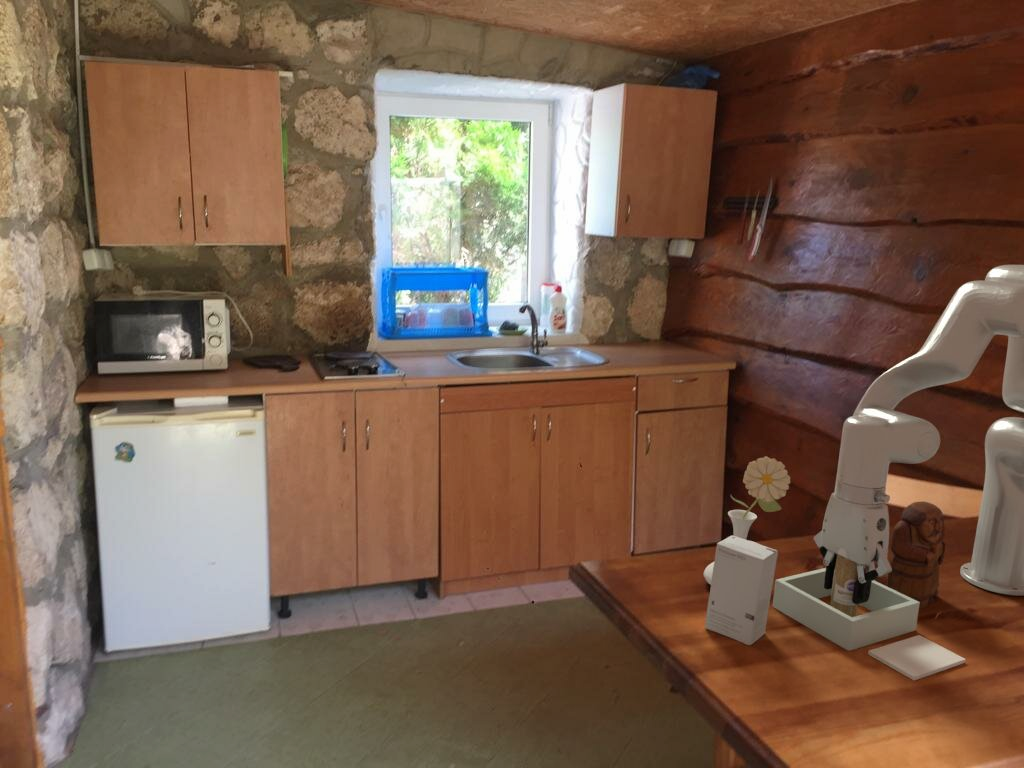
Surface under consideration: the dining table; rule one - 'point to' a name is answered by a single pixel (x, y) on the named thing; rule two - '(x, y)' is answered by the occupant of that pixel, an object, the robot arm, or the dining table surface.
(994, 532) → the robot arm
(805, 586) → the open box
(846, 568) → the sprinkles bottle
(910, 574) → the wooden figurine
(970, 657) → the dining table surface
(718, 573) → the skincare box
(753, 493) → the flower in vase
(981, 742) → the dining table surface
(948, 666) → the mat
